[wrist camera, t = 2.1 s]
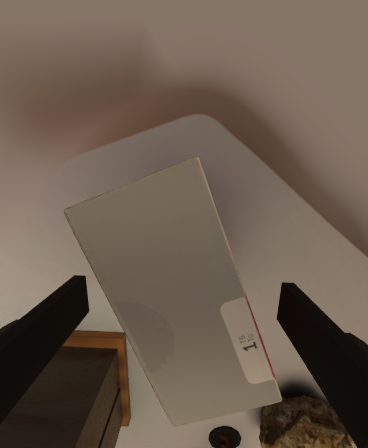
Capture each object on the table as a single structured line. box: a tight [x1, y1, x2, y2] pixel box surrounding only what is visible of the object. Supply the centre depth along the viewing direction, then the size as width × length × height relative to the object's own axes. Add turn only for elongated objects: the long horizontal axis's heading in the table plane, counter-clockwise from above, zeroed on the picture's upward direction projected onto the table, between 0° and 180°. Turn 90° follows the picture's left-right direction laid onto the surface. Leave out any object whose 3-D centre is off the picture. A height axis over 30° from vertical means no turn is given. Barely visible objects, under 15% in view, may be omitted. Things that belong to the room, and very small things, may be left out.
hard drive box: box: [64, 156, 282, 426], centre depth 20 cm, size 16×8×20 cm, turn 21°
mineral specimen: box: [259, 395, 355, 448], centre depth 32 cm, size 14×13×10 cm
